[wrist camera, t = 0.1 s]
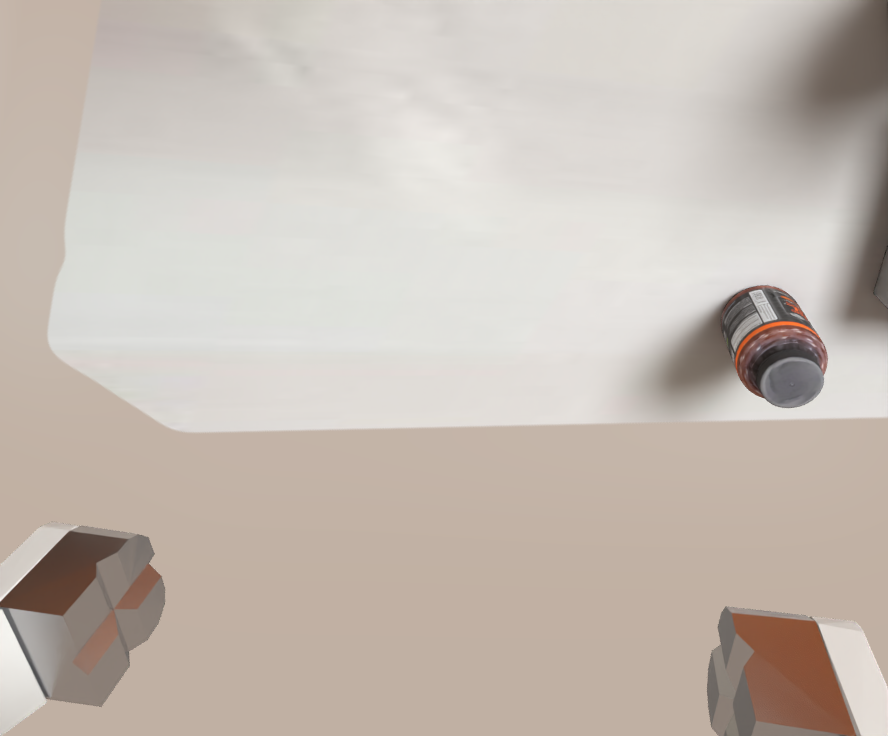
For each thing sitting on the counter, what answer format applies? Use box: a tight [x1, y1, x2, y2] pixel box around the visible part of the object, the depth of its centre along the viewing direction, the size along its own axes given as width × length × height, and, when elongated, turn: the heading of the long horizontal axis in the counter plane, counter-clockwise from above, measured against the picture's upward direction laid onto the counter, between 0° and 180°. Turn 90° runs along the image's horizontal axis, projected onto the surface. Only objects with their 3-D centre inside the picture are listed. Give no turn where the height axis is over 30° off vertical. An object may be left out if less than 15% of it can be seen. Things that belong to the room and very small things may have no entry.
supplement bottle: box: [721, 286, 828, 408], centre depth 51 cm, size 6×6×11 cm
